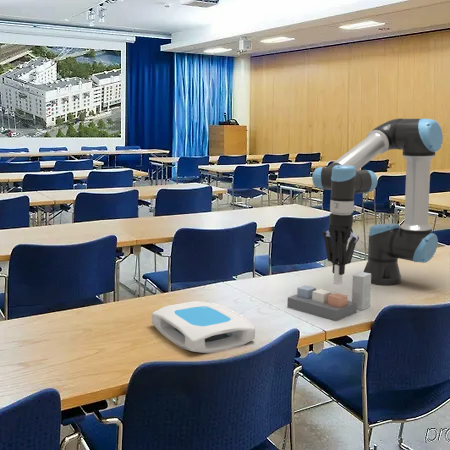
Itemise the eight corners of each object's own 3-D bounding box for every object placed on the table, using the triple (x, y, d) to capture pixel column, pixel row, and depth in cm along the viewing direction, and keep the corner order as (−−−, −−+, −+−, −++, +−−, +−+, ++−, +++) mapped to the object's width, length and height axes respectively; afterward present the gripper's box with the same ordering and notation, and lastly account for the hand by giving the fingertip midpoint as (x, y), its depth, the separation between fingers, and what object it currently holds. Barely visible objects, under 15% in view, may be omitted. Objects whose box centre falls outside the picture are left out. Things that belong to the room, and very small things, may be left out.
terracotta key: (335, 304, 204) (336, 292, 203) (347, 307, 200) (347, 295, 200) (327, 307, 200) (328, 295, 200) (339, 310, 197) (339, 298, 197)
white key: (319, 300, 208) (320, 288, 207) (331, 302, 205) (331, 291, 204) (312, 302, 205) (312, 291, 204) (323, 305, 202) (323, 294, 201)
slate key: (305, 296, 212) (305, 285, 212) (315, 298, 209) (316, 287, 209) (297, 298, 209) (297, 287, 208) (307, 301, 206) (308, 290, 205)
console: (308, 299, 216) (308, 290, 216) (356, 312, 203) (356, 302, 202) (287, 307, 208) (287, 297, 207) (336, 321, 194) (336, 310, 194)
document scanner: (192, 357, 165) (192, 336, 163) (150, 327, 188) (150, 307, 187) (256, 343, 175) (257, 323, 174) (209, 316, 199) (209, 297, 198)
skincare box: (358, 304, 212) (360, 271, 210) (370, 306, 209) (371, 273, 207) (350, 308, 207) (352, 274, 205) (362, 310, 205) (363, 276, 202)
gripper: (318, 211, 197) (315, 281, 201) (352, 216, 188) (348, 289, 192) (331, 209, 202) (327, 277, 206) (365, 214, 193) (361, 285, 197)
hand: (337, 283), depth 199 cm, fingers closed
